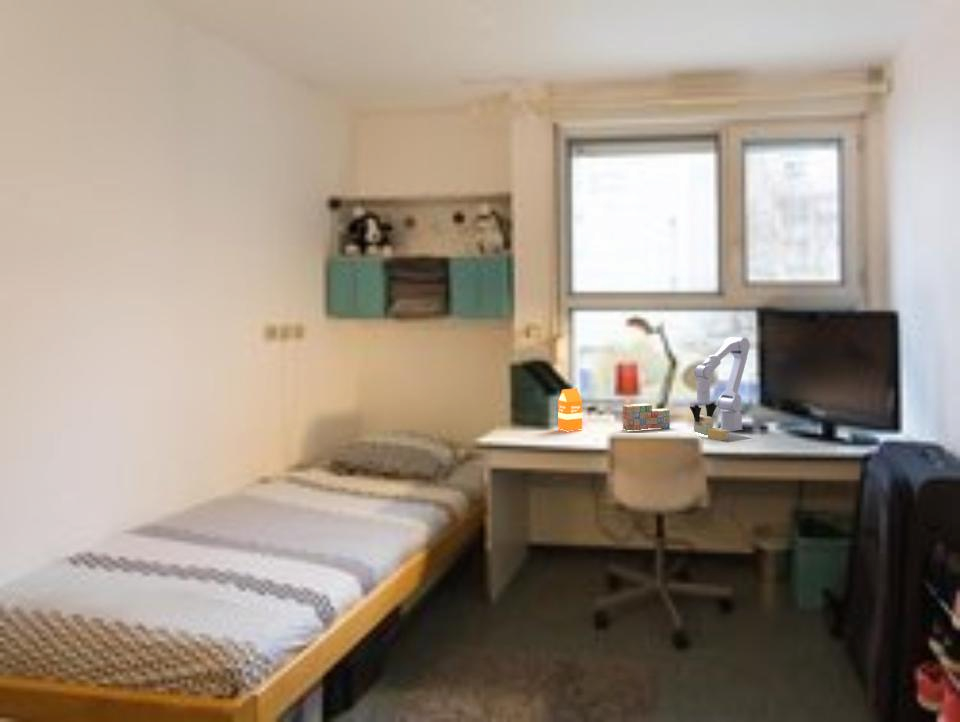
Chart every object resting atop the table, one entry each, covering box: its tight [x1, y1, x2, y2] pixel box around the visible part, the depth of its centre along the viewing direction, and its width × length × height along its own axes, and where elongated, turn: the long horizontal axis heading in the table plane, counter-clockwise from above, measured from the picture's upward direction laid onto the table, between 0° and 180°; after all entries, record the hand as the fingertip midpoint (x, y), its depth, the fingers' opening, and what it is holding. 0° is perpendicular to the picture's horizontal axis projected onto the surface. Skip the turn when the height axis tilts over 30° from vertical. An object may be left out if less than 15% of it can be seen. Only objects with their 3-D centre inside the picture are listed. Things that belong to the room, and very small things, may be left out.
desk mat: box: [708, 432, 754, 443], centre depth 401 cm, size 16×27×1 cm, turn 29°
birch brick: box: [693, 414, 714, 427], centre depth 406 cm, size 8×4×4 cm, turn 30°
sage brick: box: [693, 424, 714, 435], centre depth 407 cm, size 8×4×4 cm, turn 30°
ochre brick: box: [707, 427, 728, 441], centre depth 395 cm, size 8×4×4 cm, turn 30°
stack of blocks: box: [622, 403, 671, 431], centre depth 423 cm, size 21×6×12 cm, turn 102°
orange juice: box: [557, 387, 583, 431], centre depth 425 cm, size 8×9×20 cm
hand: (703, 420), depth 406 cm, fingers open, 7 cm apart
